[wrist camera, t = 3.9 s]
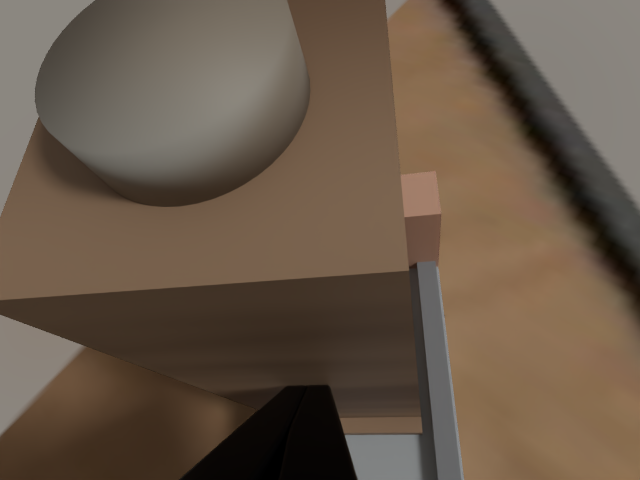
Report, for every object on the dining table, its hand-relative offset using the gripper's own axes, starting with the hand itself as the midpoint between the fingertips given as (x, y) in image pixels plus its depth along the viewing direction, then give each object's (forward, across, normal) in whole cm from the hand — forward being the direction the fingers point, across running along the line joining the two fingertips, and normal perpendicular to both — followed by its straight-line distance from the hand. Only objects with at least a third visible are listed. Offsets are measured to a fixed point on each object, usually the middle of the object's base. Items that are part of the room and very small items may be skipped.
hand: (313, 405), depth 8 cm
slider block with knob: (+6, 0, +3) cm, 6 cm away
